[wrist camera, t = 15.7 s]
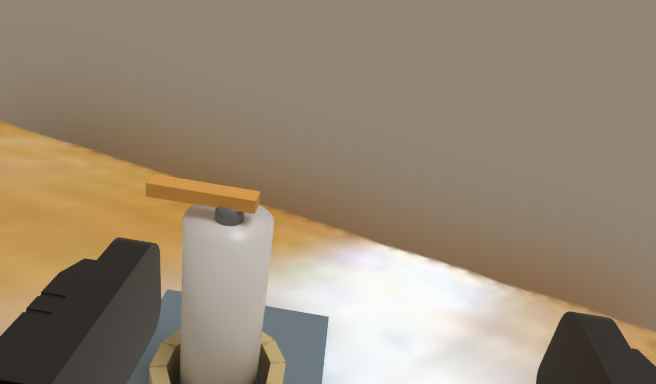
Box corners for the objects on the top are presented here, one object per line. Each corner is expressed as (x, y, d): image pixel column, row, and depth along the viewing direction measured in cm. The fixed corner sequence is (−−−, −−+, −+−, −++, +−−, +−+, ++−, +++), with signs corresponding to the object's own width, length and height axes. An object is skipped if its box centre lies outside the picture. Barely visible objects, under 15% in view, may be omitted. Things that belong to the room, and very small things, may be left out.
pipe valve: (261, 376, 37) (283, 180, 30) (245, 435, 32) (267, 221, 26) (166, 360, 37) (167, 161, 30) (137, 416, 33) (130, 198, 26)
